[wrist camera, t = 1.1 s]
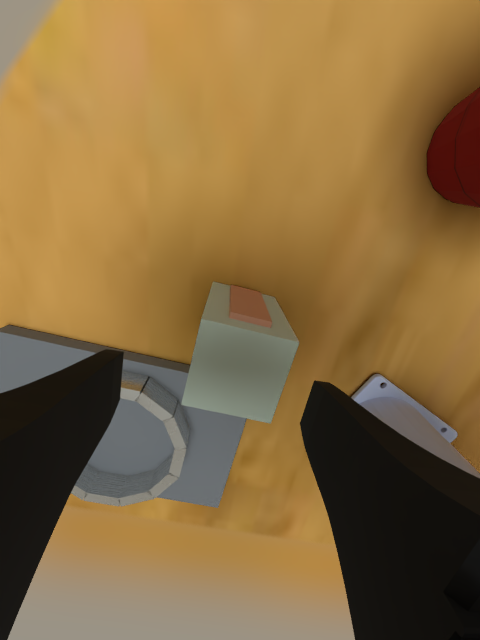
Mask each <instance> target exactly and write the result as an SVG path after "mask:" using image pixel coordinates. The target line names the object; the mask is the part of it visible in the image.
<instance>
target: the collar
mask: <svg viewBox="0 0 480 640" xmlns="http://www.w3.org/2000/svg"><path fill="white" fill-rule="evenodd" d="M120 398H122V399H127V400H131V401H136V402H137V403H139V404H140V405H141V406H143V407H144V408H145V409H147V410H148V411H149V412H151V413H152V414H153V415H155V416H156V417H157V418H159V419H160V420H161V421H163V422H164V425H165V427H166V429H167V432H168V434H169V436H170V439H171V441H172V443H173V446H174V448H175V450H174V453H173V454H172V455H171V456H170V457H169V458H168V459H166V460H165V461H164V462H163V463H162V464H161V465H160V466H158V467H157V468H156V469H155V470H151V471H147V472H143V473H139V474H134V475H130V476H125V475H119V474H113V473H108V472H102V471H98V470H97V469H95V468H94V467H92V466H90V465H89V464H87V465H86V467H85V468H84V470H83V472H82V473H81V475H80V477H79V479H78V480H77V482H76V484H75V486H74V488H73V490H72V492H71V493H72V494H73V495H75V496H77V497H78V498H80V499H81V500H83V499H84V501H90V502H96V503H102V504H108V505H114V506H120V505H121V506H125V505H129V504H134V503H138V502H142V501H147V500H151V499H154V498H156V497H157V496H158V495H160V494H161V493H162V492H163V491H164V490H166V489H167V488H168V487H169V486H170V485H171V484H173V483H174V482H175V481H176V480H177V479H178V478H179V476H180V473H181V469H182V465H183V461H184V457H185V453H186V449H187V444H188V439H189V434H190V426H189V424H188V421H187V419H186V416H185V414H184V411H183V409H182V406H181V404H180V401H179V400H178V398H177V397H175V396H174V395H173V394H172V393H170V392H169V391H168V390H166V389H165V388H164V387H163V386H161V385H160V384H159V383H158V382H156V381H155V380H154V379H152V378H151V377H150V378H149V379H148V376H146V375H142V374H137V373H132V372H128V371H123V370H122V381H121V393H120Z"/></svg>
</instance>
